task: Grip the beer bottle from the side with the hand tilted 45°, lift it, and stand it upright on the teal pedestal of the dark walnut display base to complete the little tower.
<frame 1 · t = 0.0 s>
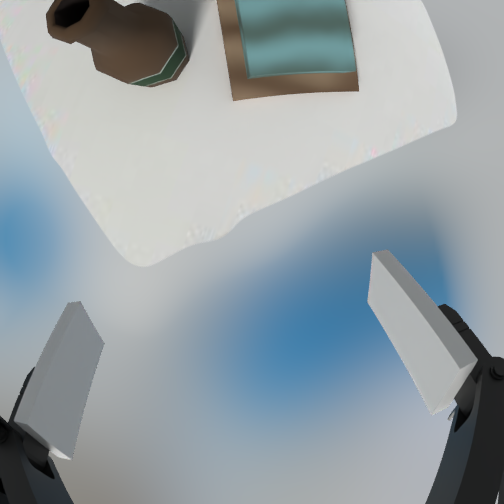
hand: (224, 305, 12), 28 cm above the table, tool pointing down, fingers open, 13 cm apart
beer bottle: (159, 59, 29), on the table
display base: (287, 32, 29), on the table
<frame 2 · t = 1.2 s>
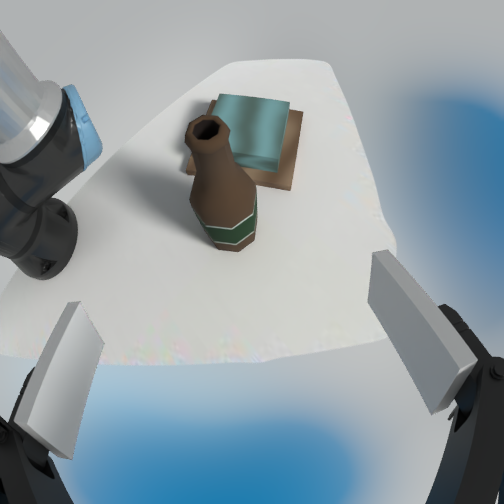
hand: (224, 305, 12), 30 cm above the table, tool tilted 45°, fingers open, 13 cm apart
beer bottle: (232, 229, 45), on the table
display base: (247, 142, 49), on the table
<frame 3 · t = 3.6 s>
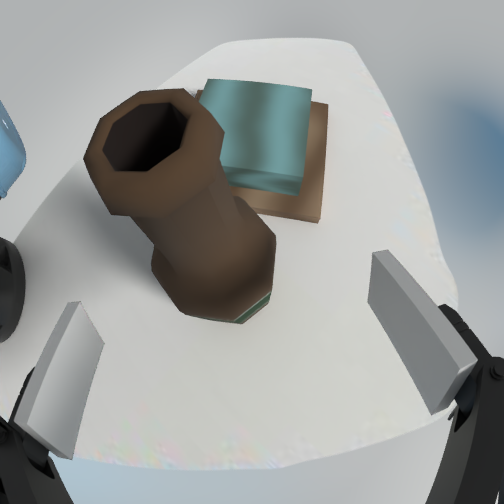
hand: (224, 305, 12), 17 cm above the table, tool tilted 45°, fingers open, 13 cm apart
beer bottle: (232, 286, 29), on the table
display base: (251, 149, 33), on the table
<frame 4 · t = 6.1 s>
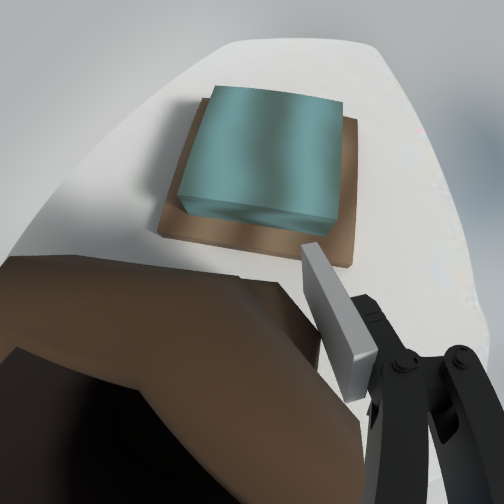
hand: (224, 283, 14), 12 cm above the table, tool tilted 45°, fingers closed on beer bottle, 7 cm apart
beer bottle: (247, 345, 24), on the table, touching gripper
display base: (267, 173, 28), on the table
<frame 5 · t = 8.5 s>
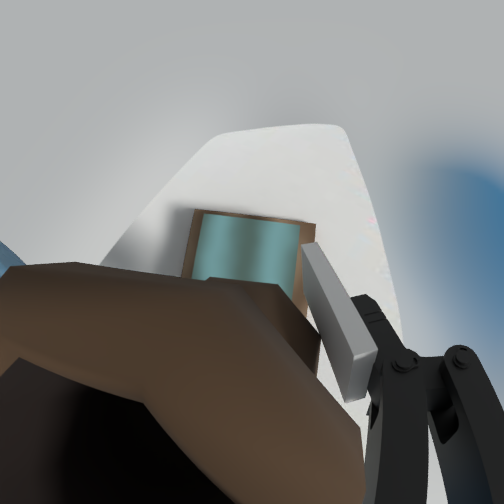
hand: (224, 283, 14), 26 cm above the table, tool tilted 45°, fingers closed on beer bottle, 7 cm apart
beer bottle: (247, 346, 24), point 14 cm above the table, touching gripper
display base: (246, 274, 40), on the table
when the fingers open (19 cm above the table, at t = 11.3 s): beer bottle drops 1 cm, resting on display base.
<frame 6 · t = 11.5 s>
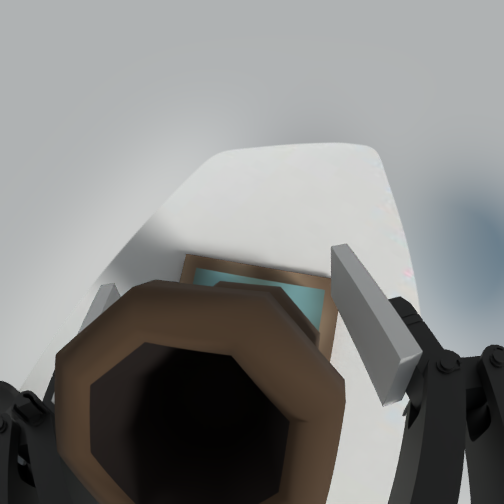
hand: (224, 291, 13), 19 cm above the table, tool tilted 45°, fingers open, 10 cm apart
beer bottle: (250, 345, 26), point 5 cm above the table, touching display base
display base: (250, 342, 31), on the table
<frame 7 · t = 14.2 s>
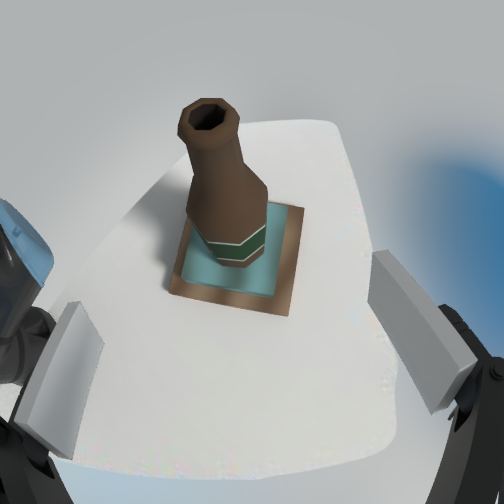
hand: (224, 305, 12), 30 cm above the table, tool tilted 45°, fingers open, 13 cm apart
beer bottle: (237, 241, 39), point 5 cm above the table, touching display base
display base: (238, 252, 44), on the table
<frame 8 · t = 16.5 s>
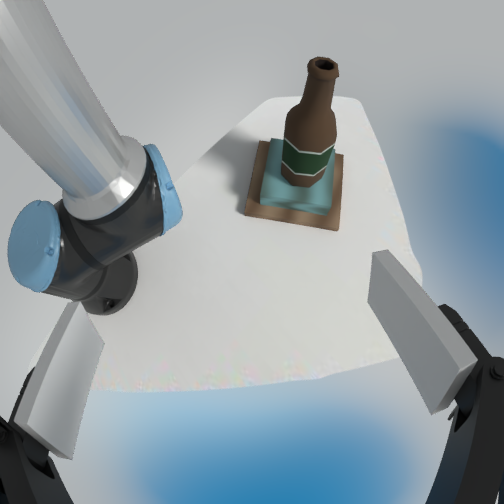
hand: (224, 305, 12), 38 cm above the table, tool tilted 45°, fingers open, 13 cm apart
beer bottle: (301, 170, 50), point 5 cm above the table, touching display base
display base: (296, 184, 55), on the table
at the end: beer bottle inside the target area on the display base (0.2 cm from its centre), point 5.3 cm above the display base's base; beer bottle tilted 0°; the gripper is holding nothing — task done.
